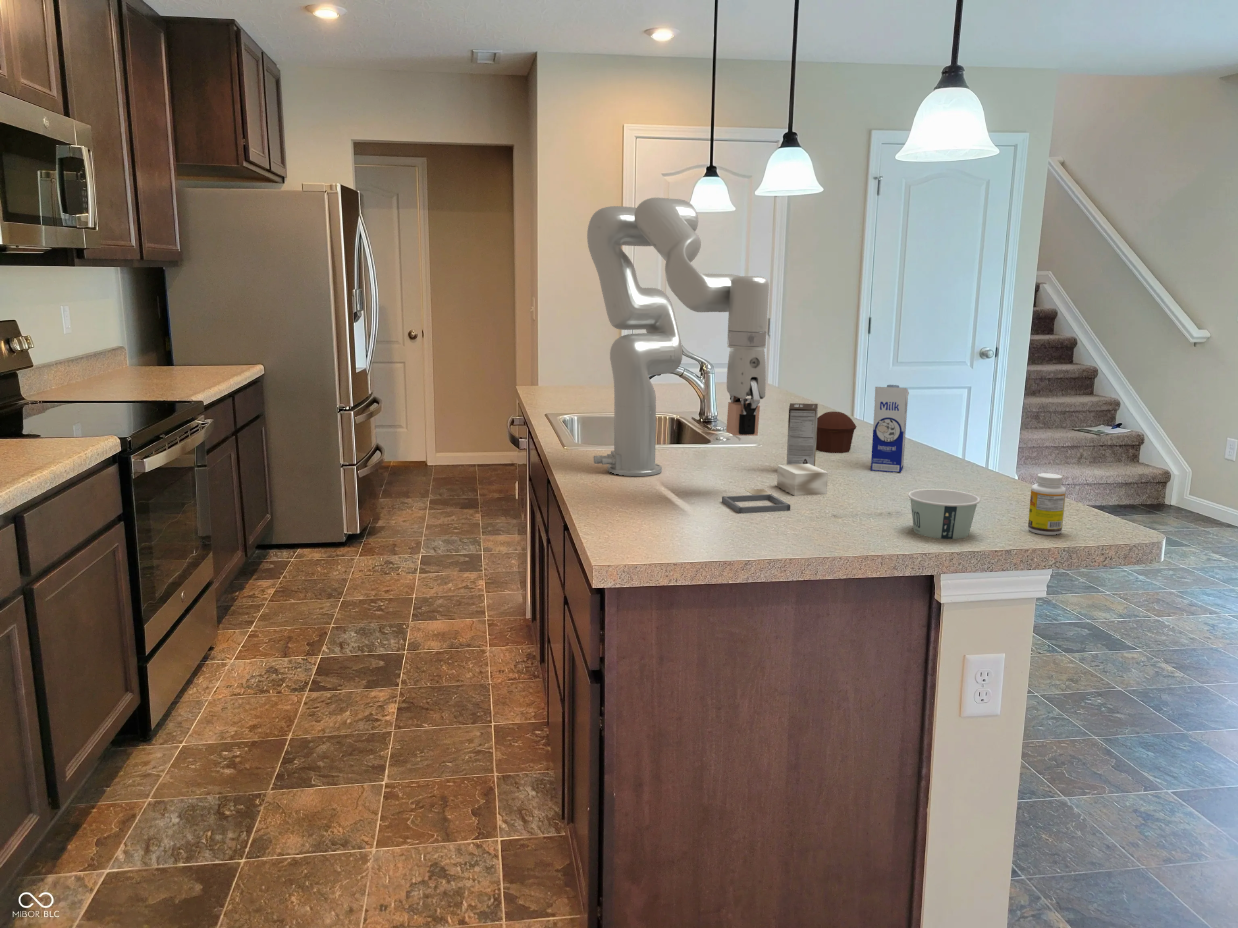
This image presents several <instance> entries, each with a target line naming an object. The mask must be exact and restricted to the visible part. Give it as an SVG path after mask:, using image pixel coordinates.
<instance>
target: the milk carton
mask: <svg viewBox="0 0 1238 928" xmlns="http://www.w3.org/2000/svg"><path fill="white" fill-rule="evenodd" d="M874 389H875V390H874V407H873V408H874V409H873V425H872V428H873V429H872V440H871V441H872V443H871V459H870V460H871V461H870V472H882V473H893V472H901V473H902V471H903V469H904V461H905V447H906V446H905V445H906V430H907V417H908V416H907V415H908V404H909V403H908V402H909V401H908V400H909V395H910V392H909V389H908V388H907V387H900V385H897V384H887V385H886V386H875V387H874Z"/></svg>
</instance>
